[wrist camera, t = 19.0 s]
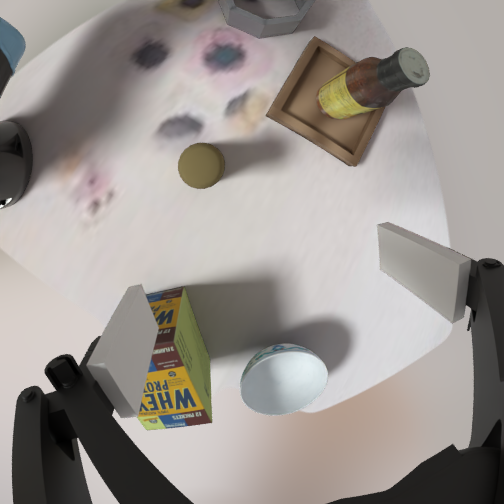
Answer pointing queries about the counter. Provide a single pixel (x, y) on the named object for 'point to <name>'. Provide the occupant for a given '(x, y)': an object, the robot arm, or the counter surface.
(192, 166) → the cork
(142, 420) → the protein box
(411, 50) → the sauce bottle
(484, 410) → the robot arm
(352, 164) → the tray
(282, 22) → the holder cup
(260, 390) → the chinaware
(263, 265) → the counter surface
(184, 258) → the counter surface
